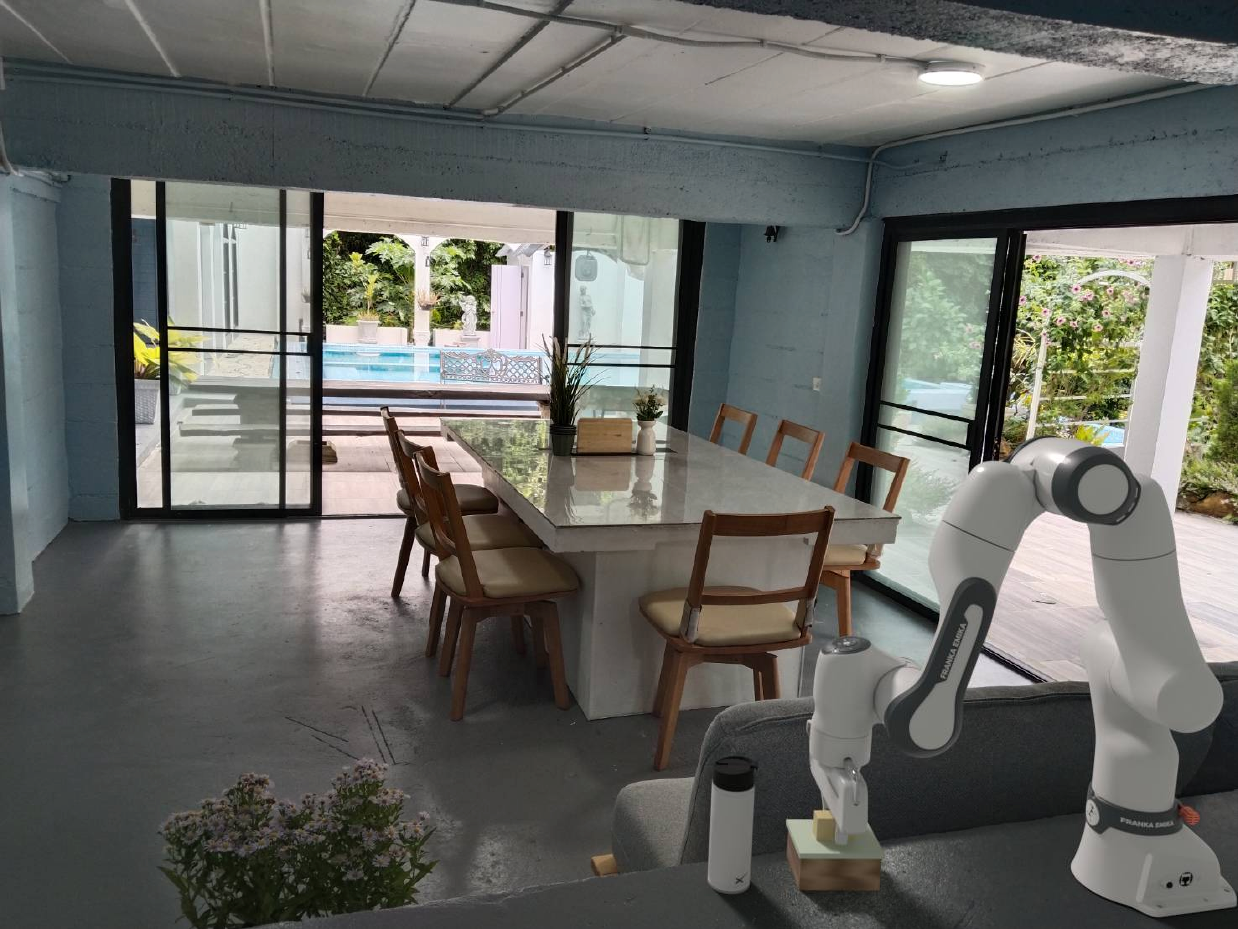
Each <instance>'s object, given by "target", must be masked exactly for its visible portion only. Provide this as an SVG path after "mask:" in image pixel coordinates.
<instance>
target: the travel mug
mask: <svg viewBox="0 0 1238 929" xmlns="http://www.w3.org/2000/svg"><path fill="white" fill-rule="evenodd" d="M758 762H759V761H758V760H754V759H752V758H750V757H748V756H742V755H728V756H724V757H720V758H719V759H717V760H716V761H715V762H714V764H713V766H712V779H711V796H710V797H711V798H710V816H709V817H710V818H709V819H710V820H709V821H710V823H709V838H708V839H709V841H708V842H709V843H708V863H707V864H708V865H707V884H708V885H709V887H710V888H711V889H713V890H714V891H716V892H718V893H720V894H721V893H722V894H726V895H737V894H741V893H743V892H746V891H747V890H748V889H750V885H751V884H750V883H751V867H752V866H751V863H752V845H753V826H754V825H753V824H754V810H755V809H754V808H755V807H754V806H755V790H756V788H755V787H756V782H755V778H756V773H755V771H758V770H759V763H758Z"/></svg>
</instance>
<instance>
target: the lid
mask: <svg viewBox="0 0 1238 929" xmlns="http://www.w3.org/2000/svg"><path fill="white" fill-rule="evenodd" d="M785 824H786V828H787V831H788V830H789V833H790V835H791V838H792V840H793V843H794V846H795V848H796V851H797V853H798V856H799V858H821V859H882V860H884V859H885V856H886V854H885V852H884V850H883V848H882V846H881V844H880V842H879V840H878V839H877V837H876V835H875V833H874V831H873V829H872V828H871V826H870V824H869V823H868V821H867V830H866V832H865V833H864V834H863V835H848V842H847V844H845V845H838V844H836V842H835V840H834V837H833V835H834V828H836V821H835V819H834V817H833V815H832V813H831V811H829V810H823V809H821V810H820V809H819V810H815V809H814V810H813V819H792V818H791V819H788V818H786V821H785Z"/></svg>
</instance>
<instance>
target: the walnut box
mask: <svg viewBox="0 0 1238 929" xmlns="http://www.w3.org/2000/svg"><path fill="white" fill-rule="evenodd" d="M786 858H787V861H788V865H789V866H790V869H791V872H792V875H793V877H794V880H795V882H796V886H797V888H798V891H880V889H881V888H880V886H881V873H882V860H883V859H821V858H799V856H798V853H797V851H796V848H795V846H794V843H793V840H792V838H791V835H790V833H789V830H788V829H787V843H786Z"/></svg>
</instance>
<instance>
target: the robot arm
mask: <svg viewBox="0 0 1238 929" xmlns="http://www.w3.org/2000/svg"><path fill="white" fill-rule="evenodd" d="M1046 512H1047V513H1050V514H1052V515H1057V516H1058V515H1059V516H1062V517H1065V518H1068V519H1069V520H1072V521H1074V522H1078V523H1082V524H1086V526H1087V529H1088V531H1089V543H1090V544H1089V545H1090V546H1089V547H1090V555H1091V563H1092V572H1093V582H1094V589H1095V599H1096V602H1097V604H1098V606H1099V608H1100V610H1101V612H1102V613H1103V615H1104V617H1105V620H1102V621H1099V622H1096V623H1095V624H1093V625H1091V626H1090V627H1089V628H1088V629H1087V630H1086V631H1085V633H1084V634H1083V636H1082V637H1081V640H1080V642H1079V646H1078V647H1079V648H1078V649H1079V650H1078V651H1079V652H1078V653H1079V658H1080V661H1081V663H1082V665H1083V668H1084V670H1085V673H1086V676H1087V679H1088V685H1089V690H1090V698H1091V704H1092V712H1093V718H1094V727H1095V728H1094V730H1095V746H1094V747H1095V748H1094V751H1095V752H1094V759H1093V760H1094V761H1093V768H1092V769H1093V770H1092V780H1091V781H1090V782H1089V784H1088V790H1087V795H1086V802H1085V803H1086V804H1085V825H1084V828H1083V833H1082V836H1081V841H1080V844H1079V847H1078V848H1077V851H1076V854H1075V856H1074V858H1073V859H1072V862H1071V864H1070V869H1071V872H1072V874H1073V875H1074V876H1073V877H1075V879H1076V880H1077V881H1078V882H1079V883H1081V885H1083V886H1084V887H1086V888H1087V889H1089V890H1090V891H1092V892H1093V893H1095V894H1097V895H1099V896H1101V897H1103V898H1104V899H1105V898H1106V899H1108V900H1110V901H1113V902H1115V903H1116V902H1117V903H1119V904H1121V905H1122V904H1123V905H1126V906H1128V907H1132V908H1133V909H1136V910H1138V911H1140V912H1141V913H1143V914H1145V915H1148V916H1149V917H1153V918H1154V917H1155V918H1163V917H1164V918H1165V917H1171V916H1176V915H1184V914H1192V913H1200V912H1207V911H1214V910H1220V909H1228V908H1234V907H1237V906H1238V905H1237V902H1238V900H1237V894H1236V892H1235V890H1234V888H1232V886H1231V885H1230V883H1229V882H1228V881H1227V880H1226V879H1225V877H1223V876H1222V875H1221V867H1220V862H1219V860H1218V858H1217V855H1216V853H1215V852H1214V850H1212V848H1211V847H1210V846H1209V845H1208V844H1207V843H1206V842H1205V841H1204V840H1203V839H1202V838H1201V837H1199V836H1198V835H1197V834H1196V833H1195V832H1194V831H1192V830H1191V829H1190V828H1189V827H1188V826H1186V824H1184V823H1183V820H1182V819H1184V821H1185V822H1186V823H1188V824H1189V825H1192V826H1193V825H1196V824H1198V822H1200V819H1201V817H1200V814H1199V813H1198V812H1196V811H1195V810H1194V809H1193V808H1192V807H1190V806H1186V805H1185V806H1184V805H1183V803H1182V802H1181V801H1180V800H1179V799H1177V798H1176V797H1175V794H1176V787H1177V777H1178V770H1179V762H1180V758H1179V757H1180V755H1179V750H1178V747H1177V744H1176V742H1175V740H1174V738H1173V736H1172V732H1171V731H1174V732H1179V733H1182V734H1183V733H1184V734H1188V733H1191V734H1192V733H1196V732H1199V731H1202V730H1203V729H1206V728H1207V727H1208V726H1210V725H1211V724H1212V723H1213V722H1215V720H1216V719H1217V717H1218V716H1219V714H1220V713H1221V711H1222V709H1223V704H1224V691H1223V687H1222V685H1221V683H1220V681H1219V680H1218V679H1217V678H1218V677H1216V676H1215V675H1214V673H1213V671H1212V669H1211V668H1210V667H1209V665H1208V663H1207V661H1206V659H1205V657H1204V655H1203V653H1202V650H1201V647H1200V646H1199V643H1198V639H1197V637H1196V634H1195V632H1194V629H1193V627H1192V624H1191V621H1190V619H1189V615H1188V613H1187V609H1186V607H1185V606H1186V605H1185V602H1184V599H1183V594H1182V588H1181V579H1180V573H1179V572H1180V571H1179V562H1178V554H1177V544H1176V543H1177V542H1176V536H1175V530H1174V525H1173V520H1172V515H1171V512H1170V508H1169V504H1168V502H1167V498H1166V495H1165V493H1164V490H1163V488H1162V485H1161V484H1159V482H1158V481H1157V480H1155V479H1154V478H1153V477H1150V476H1148V475H1146V474H1141V473H1137V472H1132V470H1131V468H1130V467H1129V466H1128V464H1127V463H1126V462H1125V461H1124V460H1123V459H1122V457H1120V456H1119V455H1118V454H1116V453H1114V451H1112V450H1109V449H1107V448H1105V447H1102V446H1097V445H1095V444H1092V443H1091V442H1088V441H1085V440H1082V439H1077V438H1065V437H1060V436H1059V435H1054V434H1053V435H1052V434H1051V435H1050V434H1049V435H1048V434H1047V435H1046V434H1045V435H1038V436H1033V437H1031V438H1028V439H1027V440H1024V441H1023V442H1022V443H1020V444H1019V445H1018V446H1017V447H1016V448H1015V449H1014V450H1013V451H1012V452H1011V453H1010V454H1009V455H1007V456H1006V457H1005V458H1003V459H1002V460H1000V461H998V460H989V461H988V460H987V461H983V462H981V463H979V464H977V465H975V466H974V467H973V468H972V469H971V471H970V472H969V473H968V474H967V475H966V477H965V478H964V480H963V481H962V483H961V485H960V486H959V487H958V488H957V490H956V492H955V494H954V496H953V497H952V498H951V500H950V502H949V504H948V506H947V507H946V509H945V511H944V513H943V515H942V517H941V520H940V522H939V524H938V526H937V527H936V530H935V533H934V535H933V538H932V541H931V545H930V549H929V554H928V558H927V564H928V565H927V566H928V568H929V573H930V575H931V578H932V580H933V582H934V586H935V590H936V593H937V597H938V602H939V621H938V625H937V628H936V631H935V633H934V637H933V639H932V642H931V644H930V646H929V649H928V652H927V654H926V657H925V659H924V661H923V662H924V663H923V665H922V666H921V665H920V664H919V663H917V662H916V661H915V660H913V659H911V658H907V657H904V656H903V657H902V656H897V655H894V654H892V653H889V652H887V651H886V650H885V651H884V650H883V649H881V648H879V647H878V646H876V645H875V644H873V643H872V641H870V640H869V639H868V638H865V637H861V636H853V635H845V636H841V637H840V636H839V637H835V638H833V639H831V640H829V641H826V643H825V644H823V646H822V647H821V648H820V650H819V653H818V656H817V660H816V664H815V670H814V680H813V691H812V698H813V701H814V711H813V714H812V717H811V719H807V720H806V733H807V736H808V739H809V741H808V743H809V744H808V745H809V747H808V748H809V750H808V751H809V766H810V765H811V766H810V767H809V768H810V771H811V774H812V776H813V778H814V780H815V783H816V785H817V786H818V788H819V790H820V795H821V800H822V810H829V811H831V813H832V815H833V817H834V819H835V821H836V828H834V835H833V837H834V840H835V842H836V844H838V845H845V844H847V842H848V835H863V834H864V833H865V832H866V830H867V822H868V820H869V819H868V815H869V814H868V812H869V810H868V809H869V807H868V805H869V798H868V797H869V795H868V793H869V792H868V786H867V783H866V781H865V779H864V778H863V776H862V774H861V772H860V770H861V767H863V766H865V765H867V764H869V762H870V760H871V748H872V736H873V735H872V734H873V733H872V732H873V727H874V726H875V725H877V724H883V726H884V728H885V730H886V732H887V735H888V736H889V738H890V741H891V743H892V744H893V745H894V747H896V748H897V750H899V751H900V752H902V753H903V754H905V755H907V756H908V757H909V756H910V757H913V758H918V759H919V758H920V759H922V758H923V759H924V758H926V759H927V758H932V757H935V756H939V755H940V754H942V753H944V752H946V751H947V750H949V749H950V748H951V747H952V746H953V745H954V744H955V743H956V742H957V740H958V738H959V736H960V734H961V731H962V727H963V715H964V714H963V712H964V711H963V710H964V709H963V708H964V700H965V695H966V693H967V692H966V691H967V688H968V686H969V684H970V681H971V679H972V675H973V673H974V670H975V667H976V665H977V663H978V660H979V657H980V655H981V652H982V649H983V646H984V644H985V641H986V638H987V636H988V633H989V630H990V628H991V624H992V621H993V617H994V615H995V610H996V606H997V602H998V597H999V594H1000V591H1001V588H1002V585H1003V583H1004V580H1005V577H1006V575H1007V572H1008V571H1009V567H1010V565H1011V563H1012V560H1013V559H1014V557H1015V555H1016V552H1017V551H1018V548H1019V547H1020V544H1021V542H1022V539H1023V536H1024V534H1025V531H1026V530H1027V529H1028V528H1029V527H1030V525H1031V524H1032V523H1033V522H1034V521H1035V520H1036V518H1039V517H1040V516H1041V515H1042V514H1044V513H1046Z"/></svg>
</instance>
